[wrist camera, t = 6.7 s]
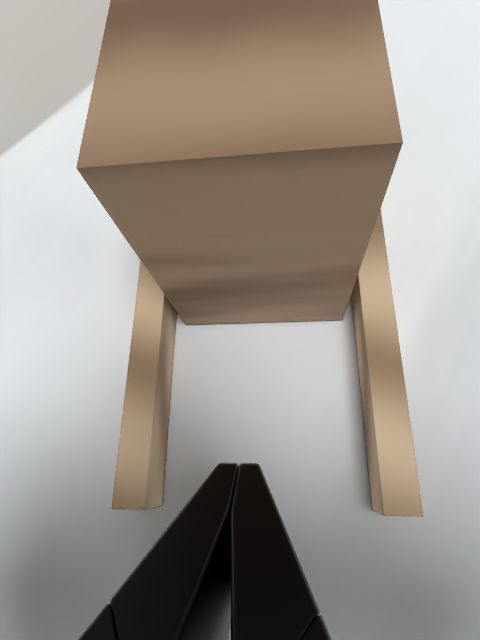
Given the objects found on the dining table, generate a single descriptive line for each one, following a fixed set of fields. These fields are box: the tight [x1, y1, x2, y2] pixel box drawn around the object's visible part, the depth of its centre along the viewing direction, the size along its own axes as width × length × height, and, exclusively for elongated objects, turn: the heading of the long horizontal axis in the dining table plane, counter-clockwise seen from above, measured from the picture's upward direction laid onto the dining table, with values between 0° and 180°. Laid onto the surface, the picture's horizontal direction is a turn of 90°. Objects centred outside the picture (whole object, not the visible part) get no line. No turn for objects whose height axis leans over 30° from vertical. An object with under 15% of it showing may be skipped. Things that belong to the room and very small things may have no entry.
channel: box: [112, 209, 423, 517], centre depth 14 cm, size 23×10×11 cm, turn 179°
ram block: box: [77, 0, 403, 325], centre depth 14 cm, size 7×7×10 cm
